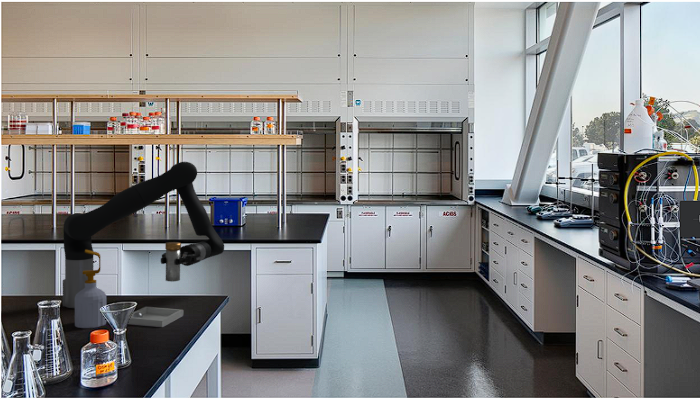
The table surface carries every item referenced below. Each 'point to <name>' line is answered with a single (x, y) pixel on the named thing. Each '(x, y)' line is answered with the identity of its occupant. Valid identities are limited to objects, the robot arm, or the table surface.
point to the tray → (156, 316)
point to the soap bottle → (90, 301)
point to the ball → (138, 315)
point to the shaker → (172, 261)
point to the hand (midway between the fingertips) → (169, 261)
